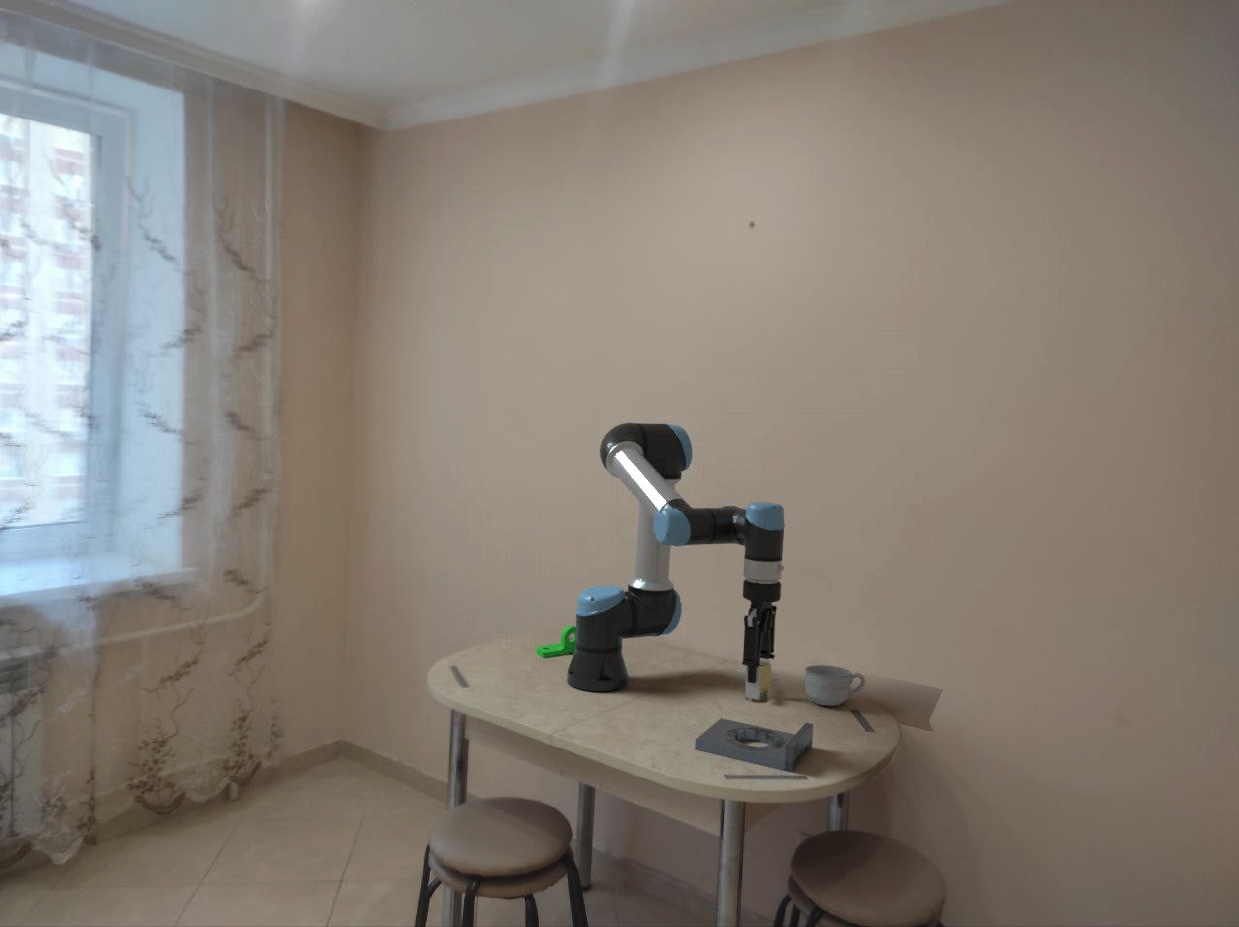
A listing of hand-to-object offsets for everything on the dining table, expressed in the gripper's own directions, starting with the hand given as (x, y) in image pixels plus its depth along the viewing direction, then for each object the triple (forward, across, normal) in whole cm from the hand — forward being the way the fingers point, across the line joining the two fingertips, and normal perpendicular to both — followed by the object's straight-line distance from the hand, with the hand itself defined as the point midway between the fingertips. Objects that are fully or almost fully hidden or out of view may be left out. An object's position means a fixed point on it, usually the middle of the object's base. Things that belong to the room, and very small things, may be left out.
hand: (757, 693), depth 168 cm
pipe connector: (+11, +31, +10) cm, 35 cm away
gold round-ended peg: (+1, 0, 0) cm, 1 cm away
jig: (+11, 0, 0) cm, 11 cm away
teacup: (+12, +37, -7) cm, 39 cm away
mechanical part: (+11, +33, +69) cm, 77 cm away
